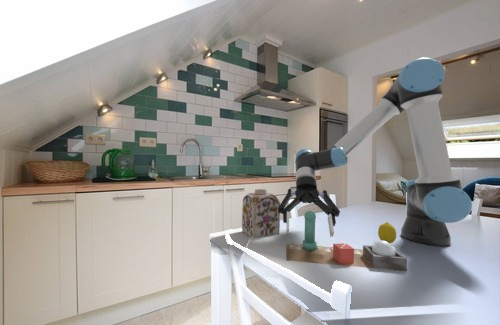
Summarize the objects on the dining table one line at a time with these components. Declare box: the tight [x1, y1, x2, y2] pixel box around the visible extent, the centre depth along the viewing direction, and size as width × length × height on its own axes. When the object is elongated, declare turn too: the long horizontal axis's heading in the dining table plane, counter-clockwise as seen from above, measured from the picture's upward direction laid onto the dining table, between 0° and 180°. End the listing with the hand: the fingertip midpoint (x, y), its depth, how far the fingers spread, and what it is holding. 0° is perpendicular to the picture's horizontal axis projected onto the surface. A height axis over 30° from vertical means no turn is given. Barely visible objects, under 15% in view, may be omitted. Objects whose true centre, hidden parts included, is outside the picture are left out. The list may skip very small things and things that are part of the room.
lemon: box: [377, 221, 397, 244], centre depth 78 cm, size 6×6×8 cm
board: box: [285, 243, 408, 272], centre depth 65 cm, size 31×13×4 cm, turn 81°
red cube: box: [332, 242, 355, 264], centre depth 62 cm, size 4×4×4 cm
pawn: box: [302, 210, 318, 251], centre depth 70 cm, size 4×4×12 cm
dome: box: [371, 240, 396, 257], centre depth 61 cm, size 6×6×5 cm
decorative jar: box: [241, 188, 281, 239], centre depth 87 cm, size 12×12×18 cm
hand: (309, 233), depth 68 cm, fingers open, 13 cm apart
